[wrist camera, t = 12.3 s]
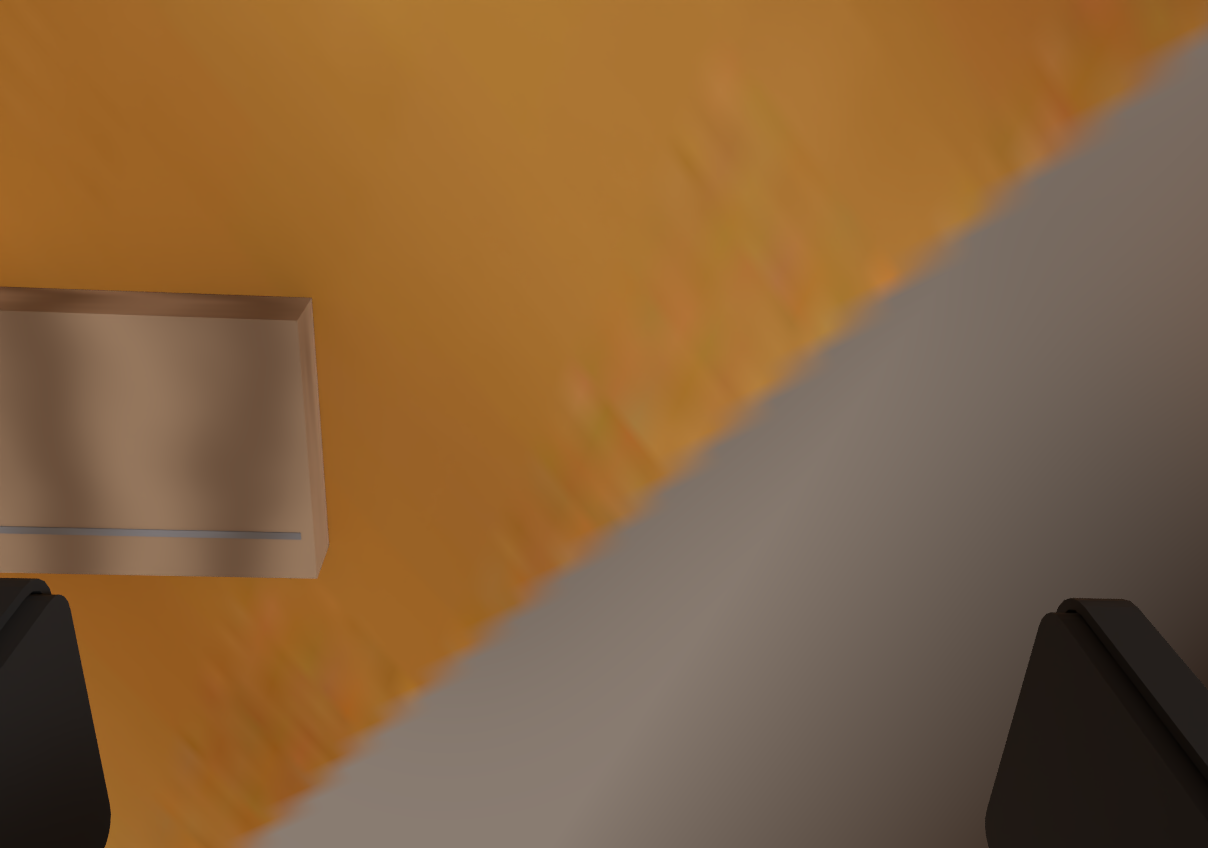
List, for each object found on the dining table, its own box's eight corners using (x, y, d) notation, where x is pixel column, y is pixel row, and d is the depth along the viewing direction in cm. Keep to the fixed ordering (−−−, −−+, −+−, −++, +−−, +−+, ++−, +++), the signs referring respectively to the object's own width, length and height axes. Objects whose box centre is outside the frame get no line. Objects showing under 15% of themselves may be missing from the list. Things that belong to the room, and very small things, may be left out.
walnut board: (-164, 534, 43) (-204, 569, 41) (-243, 278, 38) (-293, 300, 36) (329, 545, 44) (316, 579, 42) (311, 297, 40) (296, 321, 37)
